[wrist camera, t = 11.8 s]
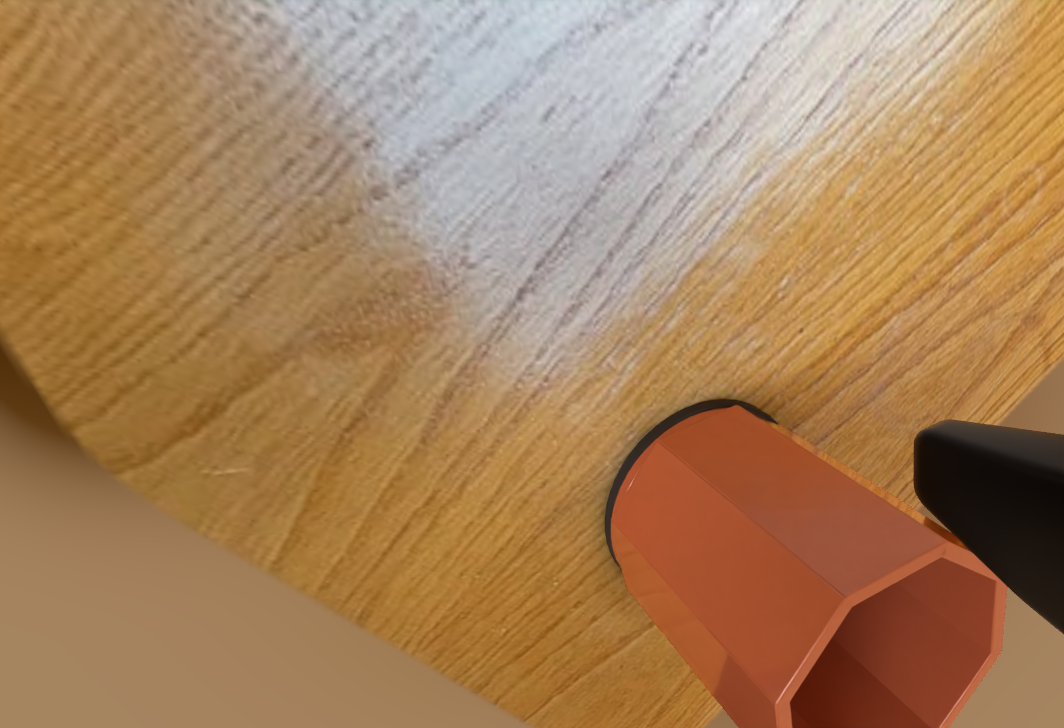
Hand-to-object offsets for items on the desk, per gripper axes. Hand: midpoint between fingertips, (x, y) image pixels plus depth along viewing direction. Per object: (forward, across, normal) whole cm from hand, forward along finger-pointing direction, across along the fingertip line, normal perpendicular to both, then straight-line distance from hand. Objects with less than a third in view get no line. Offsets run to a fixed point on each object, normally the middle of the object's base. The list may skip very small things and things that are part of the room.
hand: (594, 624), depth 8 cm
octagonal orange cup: (+12, -8, +10) cm, 17 cm away
